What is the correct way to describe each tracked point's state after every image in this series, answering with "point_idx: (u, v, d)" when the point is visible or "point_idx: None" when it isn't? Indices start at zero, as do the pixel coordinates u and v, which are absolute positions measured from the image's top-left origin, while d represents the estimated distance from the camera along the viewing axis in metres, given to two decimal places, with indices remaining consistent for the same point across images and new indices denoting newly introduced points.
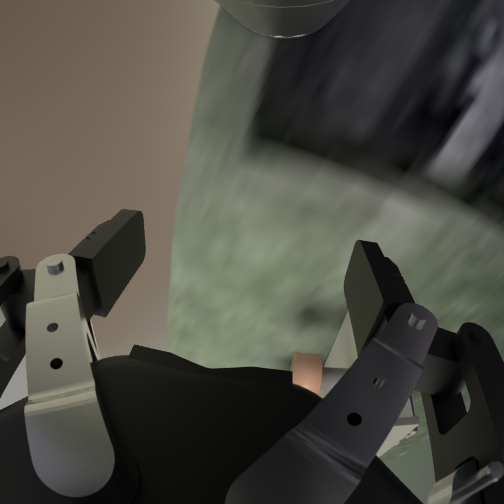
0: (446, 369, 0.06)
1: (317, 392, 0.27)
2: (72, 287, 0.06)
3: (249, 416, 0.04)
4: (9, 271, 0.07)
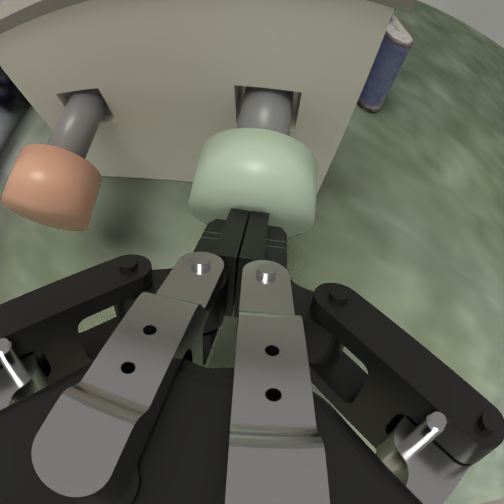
0: None
1: (22, 149, 0.11)
2: (204, 295, 0.07)
3: None
4: (140, 272, 0.07)
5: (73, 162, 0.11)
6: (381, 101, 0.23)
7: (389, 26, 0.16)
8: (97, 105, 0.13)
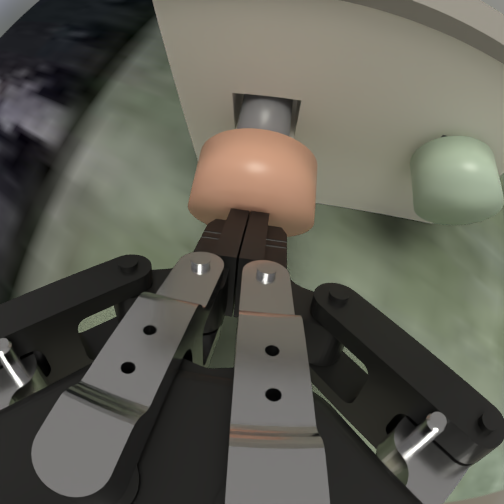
0: None
1: (234, 131, 0.11)
2: (203, 295, 0.07)
3: None
4: (140, 272, 0.07)
5: (310, 161, 0.11)
6: None
7: None
8: None
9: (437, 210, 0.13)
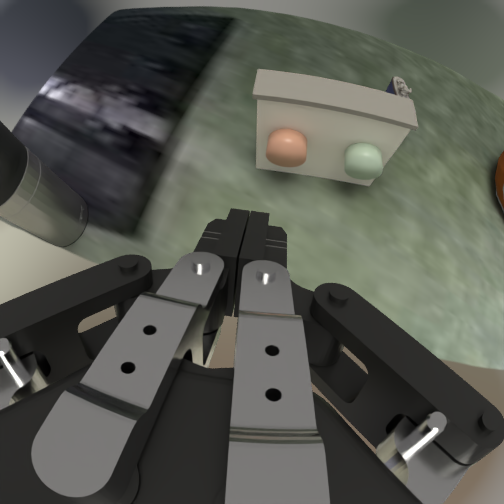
0: None
1: (282, 129, 0.35)
2: (203, 295, 0.07)
3: None
4: (140, 272, 0.07)
5: (304, 139, 0.36)
6: None
7: None
8: None
9: (354, 172, 0.37)
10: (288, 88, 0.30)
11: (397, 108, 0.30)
